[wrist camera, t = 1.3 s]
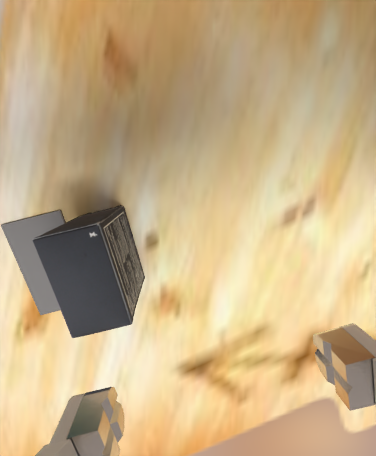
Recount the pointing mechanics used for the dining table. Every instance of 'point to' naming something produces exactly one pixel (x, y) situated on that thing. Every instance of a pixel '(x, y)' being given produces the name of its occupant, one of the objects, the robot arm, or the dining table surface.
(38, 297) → the mat
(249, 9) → the dining table surface
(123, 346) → the dining table surface
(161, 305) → the dining table surface
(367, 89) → the dining table surface
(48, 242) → the small box
